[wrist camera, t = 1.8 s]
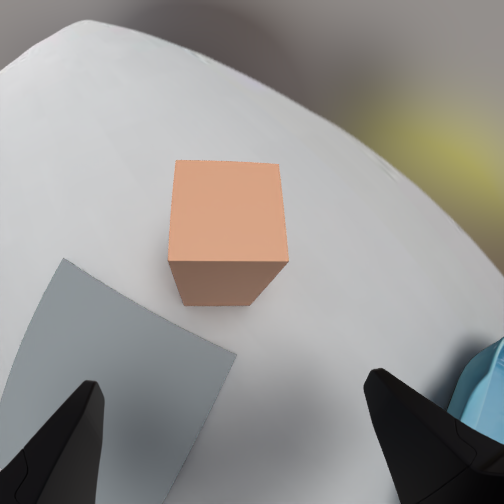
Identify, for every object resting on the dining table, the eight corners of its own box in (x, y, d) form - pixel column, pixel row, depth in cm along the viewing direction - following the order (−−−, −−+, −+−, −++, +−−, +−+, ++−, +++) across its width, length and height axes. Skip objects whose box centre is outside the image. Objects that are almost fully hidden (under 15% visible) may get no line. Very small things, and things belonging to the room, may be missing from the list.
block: (249, 305, 23) (288, 261, 12) (184, 305, 22) (167, 260, 12) (246, 244, 24) (278, 164, 14) (185, 244, 24) (175, 160, 13)
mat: (135, 551, 13) (134, 554, 12) (-10, 454, 13) (-13, 455, 13) (236, 354, 21) (236, 354, 21) (66, 260, 21) (63, 257, 21)
